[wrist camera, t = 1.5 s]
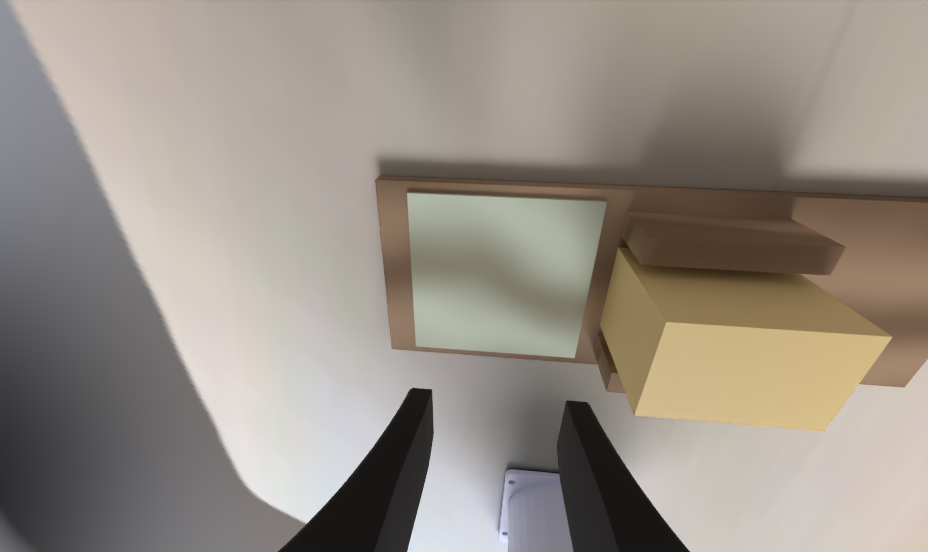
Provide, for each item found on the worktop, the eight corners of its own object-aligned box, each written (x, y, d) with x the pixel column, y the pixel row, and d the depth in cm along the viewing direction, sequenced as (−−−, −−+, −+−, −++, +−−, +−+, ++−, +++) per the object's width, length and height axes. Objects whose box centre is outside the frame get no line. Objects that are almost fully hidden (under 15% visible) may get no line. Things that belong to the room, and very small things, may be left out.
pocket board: (890, 376, 21) (964, 435, 17) (395, 340, 23) (377, 386, 19) (1025, 201, 16) (1163, 236, 12) (380, 175, 18) (352, 199, 15)
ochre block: (737, 333, 19) (824, 431, 14) (599, 324, 20) (634, 415, 15) (774, 255, 17) (892, 337, 12) (618, 247, 18) (666, 322, 12)
